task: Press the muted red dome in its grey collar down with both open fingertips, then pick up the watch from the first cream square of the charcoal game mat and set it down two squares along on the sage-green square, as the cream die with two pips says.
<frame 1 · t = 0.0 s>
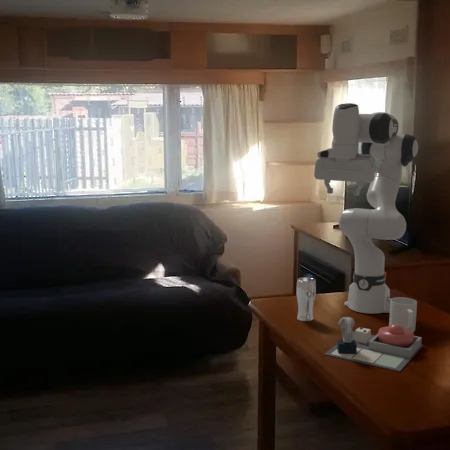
hand: (343, 194, 211), 48 cm above the table, tool pointing down, fingers open, 8 cm apart
game board: (374, 350, 202), on the table
dome: (396, 332, 203), point 5 cm above the table, slide at 0.0 cm
mug: (403, 333, 218), on the table
beer glass: (305, 319, 232), on the table
watch: (346, 351, 200), resting on game board
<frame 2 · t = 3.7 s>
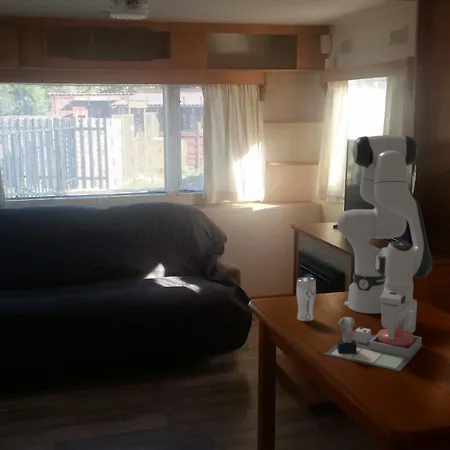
hand: (396, 334, 203), 5 cm above the table, tool pointing down, fingers open, 8 cm apart
dome: (395, 334, 203), point 5 cm above the table, slide at 0.8 cm, touching gripper
everything else where it was.
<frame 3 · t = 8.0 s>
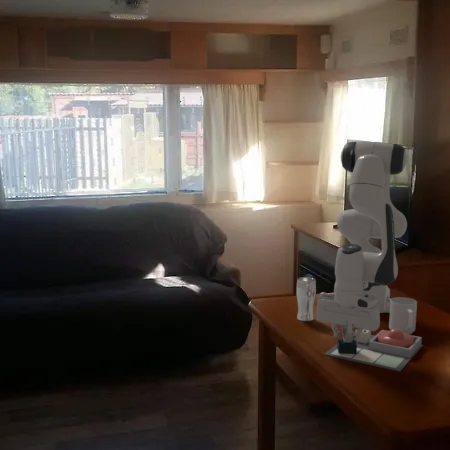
hand: (346, 338, 199), 4 cm above the table, tool pointing down, fingers open, 5 cm apart
dome: (395, 337, 203), point 4 cm above the table, slide at 1.5 cm
watch: (346, 351, 200), resting on game board, touching gripper
everything else where it was.
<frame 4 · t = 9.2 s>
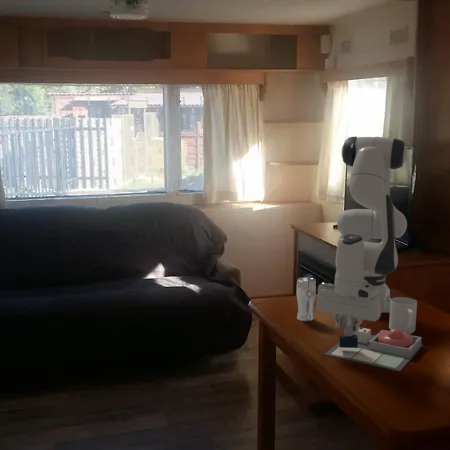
hand: (347, 328, 199), 8 cm above the table, tool pointing down, fingers closed on watch, 4 cm apart
watch: (348, 346, 199), point 2 cm above the table, touching gripper
everything else where it was.
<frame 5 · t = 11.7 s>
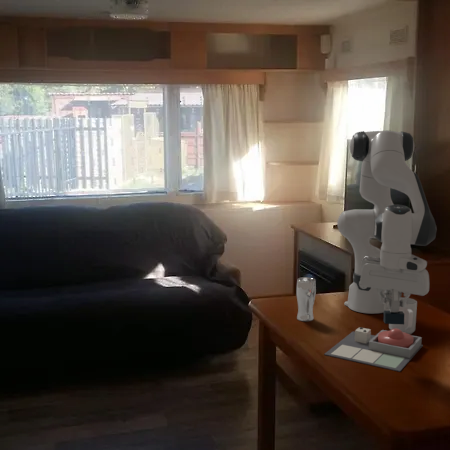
hand: (392, 304, 190), 18 cm above the table, tool pointing down, fingers closed on watch, 4 cm apart
watch: (393, 323, 190), point 13 cm above the table, touching gripper
everything else where it was.
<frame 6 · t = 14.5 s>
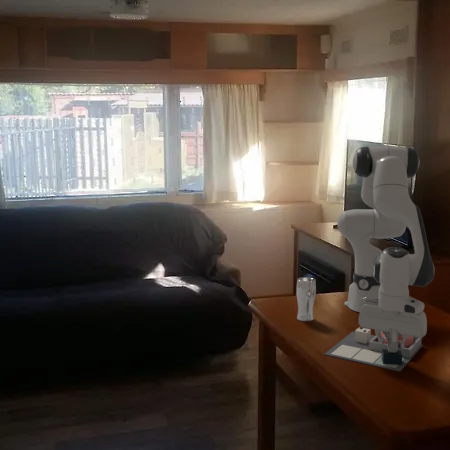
hand: (390, 345, 192), 5 cm above the table, tool pointing down, fingers closed on watch, 5 cm apart
watch: (391, 362, 192), resting on game board, touching gripper
everything else where it was.
when the fingers open (5 cm above the table, at t = 15.0 s): watch stays where it is, resting on game board.
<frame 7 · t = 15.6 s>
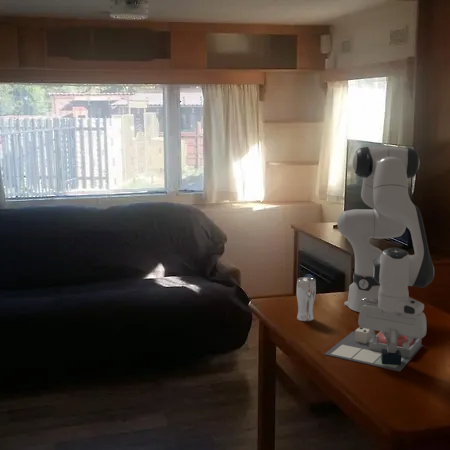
hand: (390, 346, 192), 5 cm above the table, tool pointing down, fingers open, 8 cm apart
watch: (390, 362, 192), resting on game board
everything else where it was.
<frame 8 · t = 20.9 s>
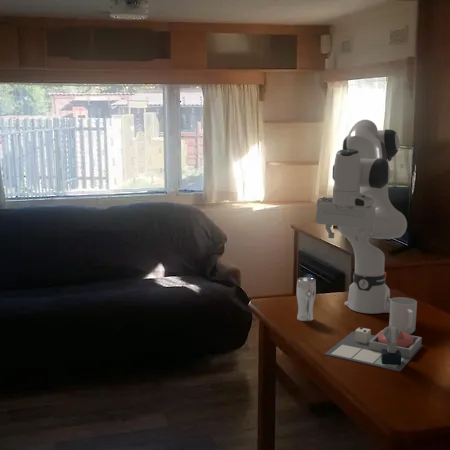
hand: (344, 239, 211), 33 cm above the table, tool pointing down, fingers open, 8 cm apart
nothing on the table moved.
at the end: dome slide at 1.5 cm; watch inside the target area (0.9 cm from its centre), resting on game board; watch tilted 0° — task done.
